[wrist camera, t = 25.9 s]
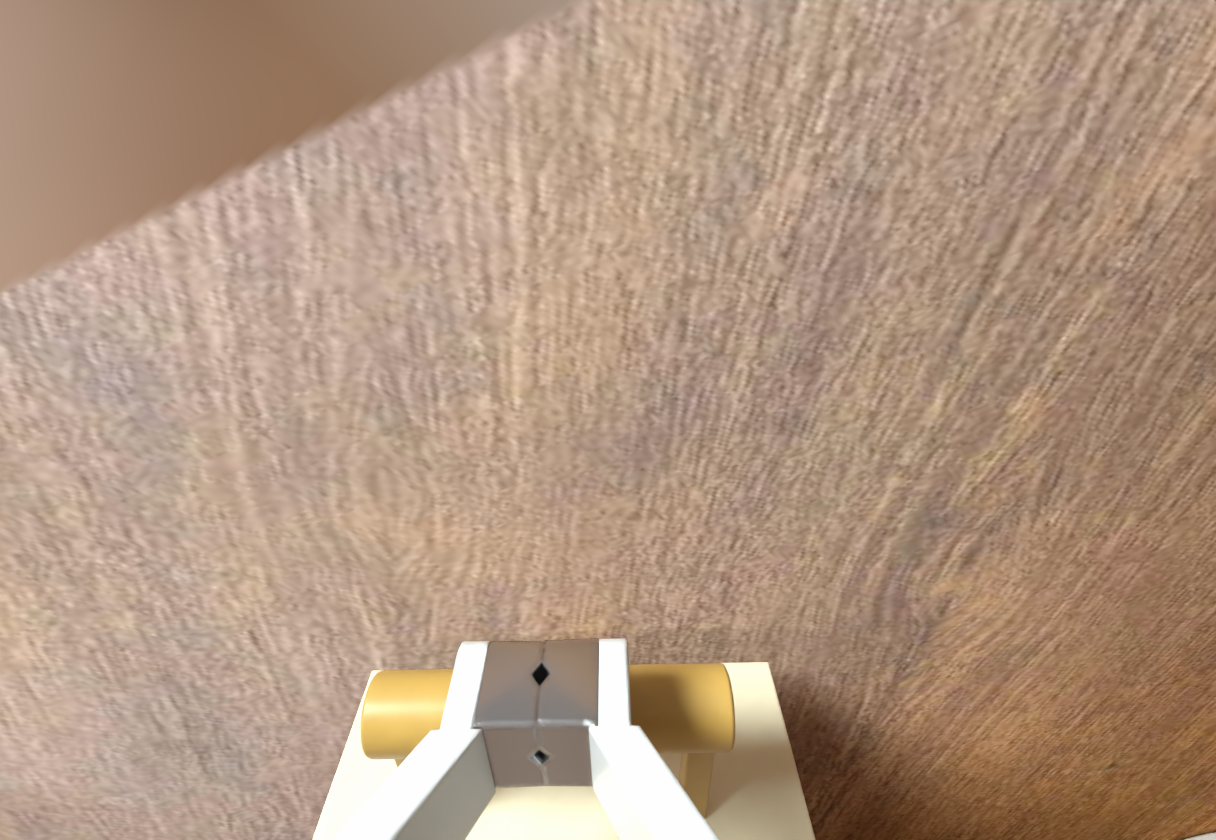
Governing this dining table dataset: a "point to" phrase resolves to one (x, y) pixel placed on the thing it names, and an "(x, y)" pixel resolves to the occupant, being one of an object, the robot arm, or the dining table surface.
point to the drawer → (572, 815)
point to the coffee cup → (1204, 837)
